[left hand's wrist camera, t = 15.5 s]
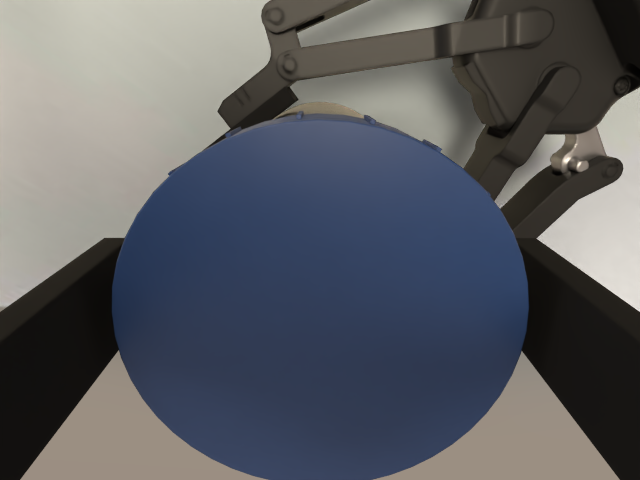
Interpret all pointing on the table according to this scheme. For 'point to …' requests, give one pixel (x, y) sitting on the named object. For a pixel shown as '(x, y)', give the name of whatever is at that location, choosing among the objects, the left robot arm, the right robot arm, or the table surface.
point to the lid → (320, 300)
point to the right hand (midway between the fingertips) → (250, 252)
